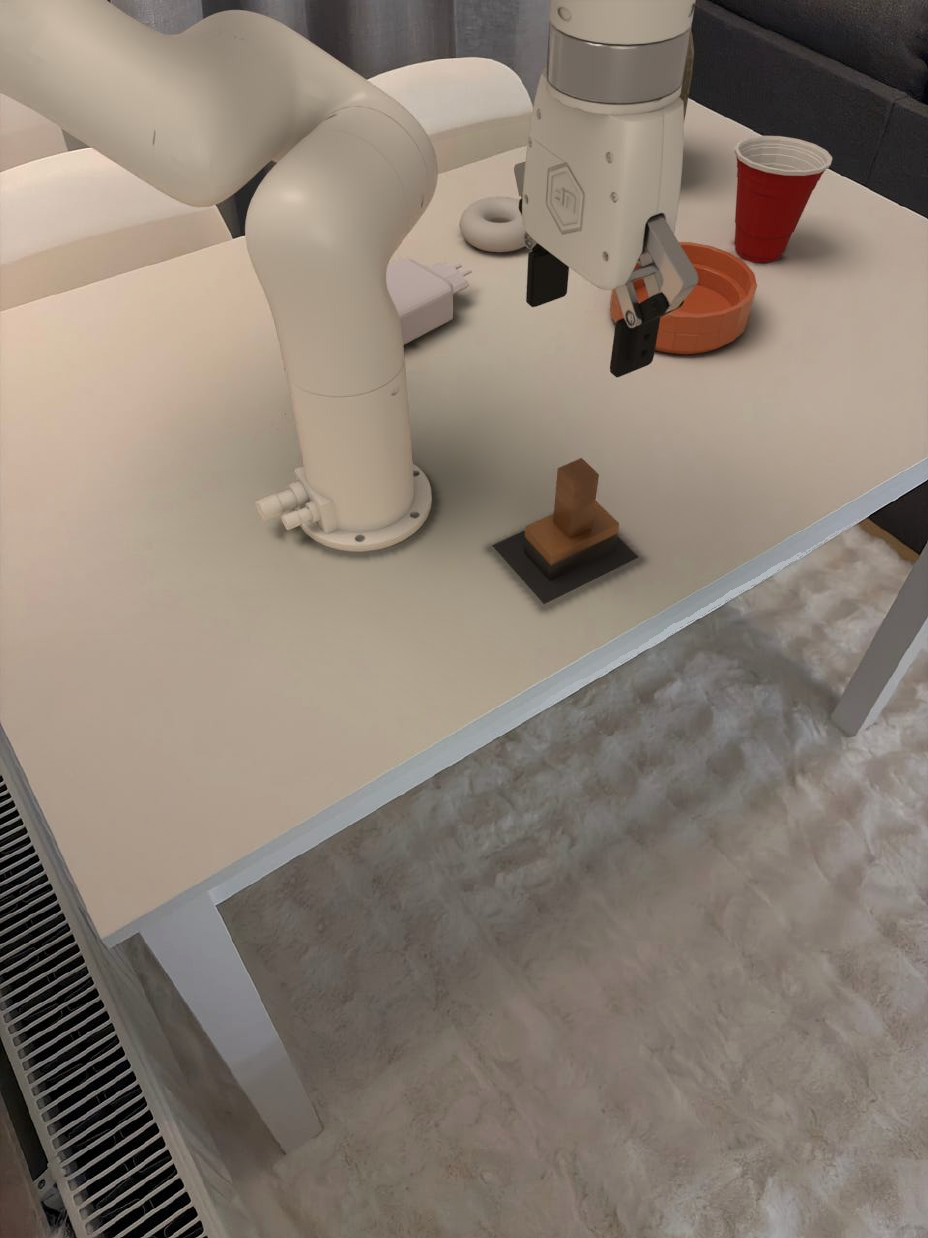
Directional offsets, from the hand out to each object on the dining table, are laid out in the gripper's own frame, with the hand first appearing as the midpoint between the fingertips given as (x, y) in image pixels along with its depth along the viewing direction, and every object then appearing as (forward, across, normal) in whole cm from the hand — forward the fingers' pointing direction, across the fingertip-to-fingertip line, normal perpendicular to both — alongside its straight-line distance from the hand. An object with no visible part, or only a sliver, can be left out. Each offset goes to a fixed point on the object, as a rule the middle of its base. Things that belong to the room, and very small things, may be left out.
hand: (586, 333), depth 63 cm
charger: (+22, -40, +8) cm, 46 cm away
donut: (+22, -49, +25) cm, 59 cm away
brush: (+22, 0, 0) cm, 22 cm away
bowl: (+22, -23, +32) cm, 45 cm away
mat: (+22, 0, 0) cm, 22 cm away
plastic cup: (+22, -29, +50) cm, 62 cm away
